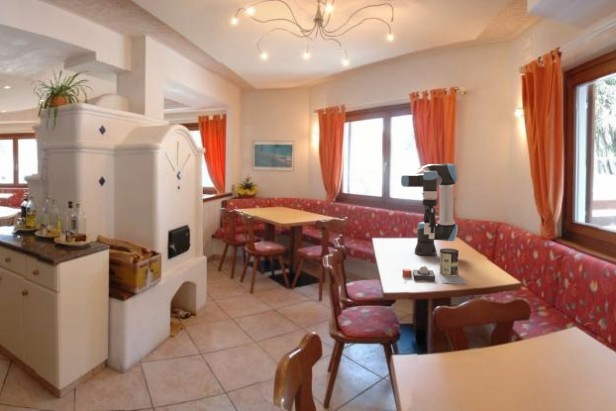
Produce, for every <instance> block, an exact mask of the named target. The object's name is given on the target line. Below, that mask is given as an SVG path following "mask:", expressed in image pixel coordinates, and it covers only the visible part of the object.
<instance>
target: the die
mask: <svg viewBox="0 0 616 411" xmlns="http://www.w3.org/2000/svg"><path fill="white" fill-rule="evenodd" d="M402 276H403V278H405V279H406V278H412V277H413V269H411V268H402Z"/></svg>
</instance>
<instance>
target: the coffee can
mask: <svg viewBox="0 0 616 411" xmlns="http://www.w3.org/2000/svg"><path fill="white" fill-rule="evenodd" d="M459 252H460V251H459V250H458V249H456V248H448V247H447V248H440V249H439V274H440V276H454V277H458V275H459Z"/></svg>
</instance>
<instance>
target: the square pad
mask: <svg viewBox="0 0 616 411" xmlns="http://www.w3.org/2000/svg"><path fill="white" fill-rule="evenodd" d="M438 277H439V279H440V281H441V283H442V284H446V285H447V284H451V285H467V282H466V281H465V280H464V278H463V276H445V275H438Z"/></svg>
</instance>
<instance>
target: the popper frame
mask: <svg viewBox="0 0 616 411" xmlns="http://www.w3.org/2000/svg"><path fill="white" fill-rule="evenodd" d="M428 270H429V274H428V275H426V274H419V269H412V277H413V281H416V282H417V281H419V282H420V281H421V282H436V274H435V272H434V270H430V269H428Z"/></svg>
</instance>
